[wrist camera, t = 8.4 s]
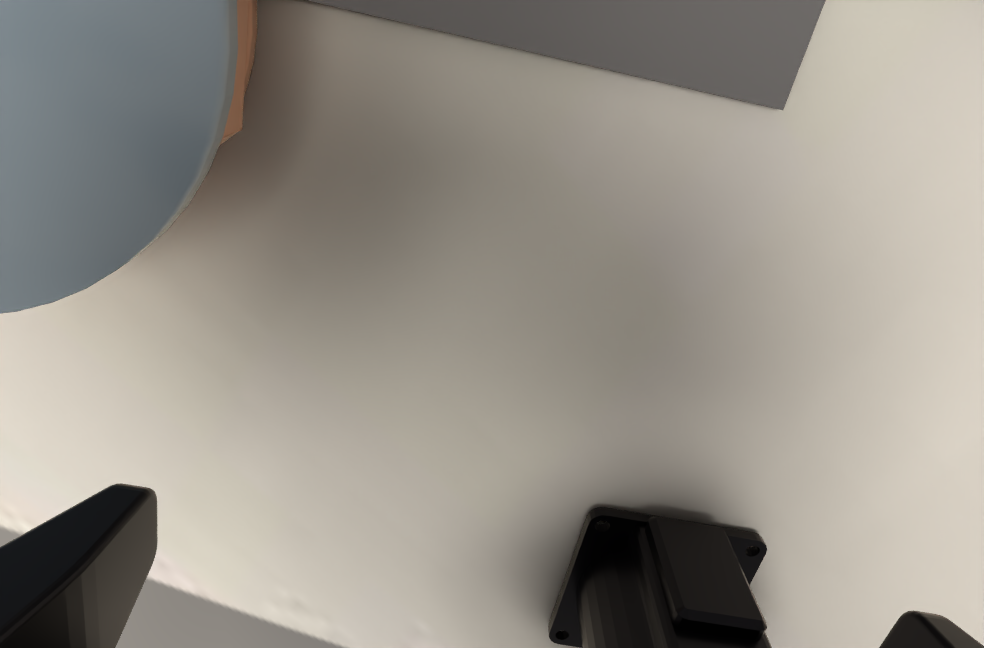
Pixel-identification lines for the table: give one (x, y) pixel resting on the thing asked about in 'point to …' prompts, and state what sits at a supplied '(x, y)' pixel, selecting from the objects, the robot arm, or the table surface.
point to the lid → (103, 132)
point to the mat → (637, 36)
